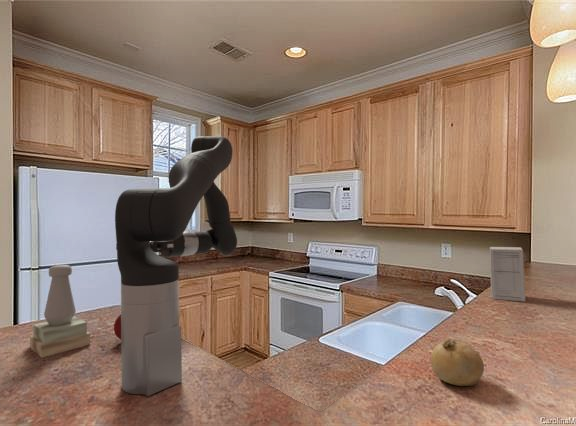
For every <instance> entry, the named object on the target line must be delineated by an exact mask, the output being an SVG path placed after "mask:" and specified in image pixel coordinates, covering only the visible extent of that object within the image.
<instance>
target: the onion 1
mask: <svg viewBox="0 0 576 426" xmlns="http://www.w3.org/2000/svg"><path fill="white" fill-rule="evenodd" d="M113 332H114V335H115V336H116V337H117V338H118V339H119V340H121V313H120V314H119V315H118V316H117V318H116V319H115V321H114V324H113Z"/></svg>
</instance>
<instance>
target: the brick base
mask: <svg viewBox="0 0 576 426" xmlns="http://www.w3.org/2000/svg"><path fill="white" fill-rule="evenodd" d="M32 327H33V333H32V335H29V348H30V349H31V350H32V351H34V353H36V354H37V356H40V358H42V359H43V358H46V357H49V356H53V355H56V354H60V353H64V352H67V351H71V350H74V349H79V348H82V347H86V346H89V345H91V332H89V331H88V322H87V321H85V320H83V319H82V318H79V317H78V316H75V315H74V316H73V318H72V320H71V322H70V323H69V324H65V325H62V326H50V325H49V324H48V322H47V321H44V322H40V323H35V324H33V325H32Z"/></svg>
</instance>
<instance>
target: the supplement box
mask: <svg viewBox="0 0 576 426" xmlns="http://www.w3.org/2000/svg"><path fill="white" fill-rule="evenodd" d="M489 267H490V272H489V273H490V274H489V275H490V290H491V291H490V293H491V299H492V300H504V301H515V302H523V303H524V302H526V287H525V285H526V284H525V269H524V267H525V266H524V250H523V248H522V247H521V246H519V247H514V246H513V247H512V246H490V247H489Z"/></svg>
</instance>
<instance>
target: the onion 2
mask: <svg viewBox="0 0 576 426" xmlns="http://www.w3.org/2000/svg"><path fill="white" fill-rule="evenodd" d="M429 361H430V366H431V368H432V371H433V373H434V375H435V376H436V377H437V378H438V379H440V380H441V381H442V382H445V383H448V384H450V385H454V386H457V387H458V386H460V387H463V386H466V387H467V386H468V387H471V386H476V385H477V384H478V383H479V381H480V380H481V378H482V377H483V374H484V371H485V364H484V361H483V358H482V356H481V355H480V353H479V352H478V351H477V350H476V349H474V348H473V347H472V346H471V345H469V344H467V343H464V342H462V341H457V340H453V339H450V338H448V337H447V338H446V339H445V340H442V341H441V342H440V343H438V344H437V345H436V346H435V347H434V348H433V350H432V352H431V354H430V360H429Z"/></svg>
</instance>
